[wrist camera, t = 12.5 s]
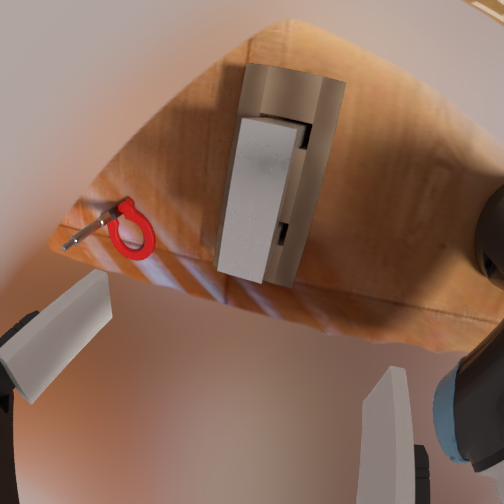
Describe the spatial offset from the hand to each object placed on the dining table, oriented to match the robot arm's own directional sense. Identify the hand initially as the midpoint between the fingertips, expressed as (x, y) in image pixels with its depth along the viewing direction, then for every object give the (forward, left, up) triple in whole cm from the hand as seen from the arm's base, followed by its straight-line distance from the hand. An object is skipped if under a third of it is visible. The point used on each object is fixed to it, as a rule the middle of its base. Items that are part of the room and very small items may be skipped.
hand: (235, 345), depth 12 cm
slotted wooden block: (+3, -2, -26) cm, 26 cm away
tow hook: (+23, +11, -26) cm, 36 cm away
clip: (+3, -2, -26) cm, 26 cm away
